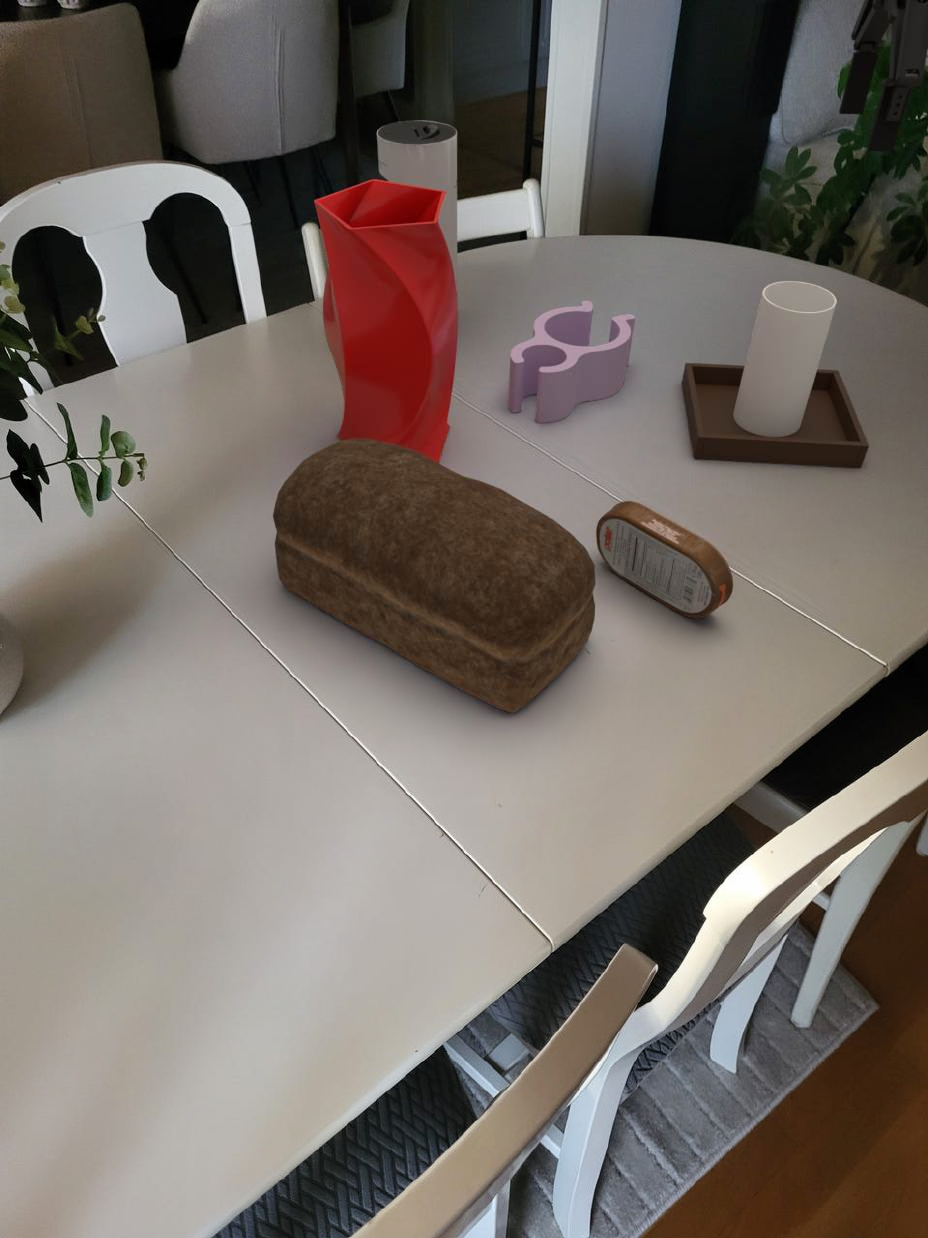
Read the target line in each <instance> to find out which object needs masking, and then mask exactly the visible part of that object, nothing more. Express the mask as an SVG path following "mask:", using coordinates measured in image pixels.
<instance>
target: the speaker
mask: <svg viewBox="0 0 928 1238" xmlns="http://www.w3.org/2000/svg"><path fill="white" fill-rule="evenodd" d="M376 141H377V144H376V145H377V160H378V162H377V163H378V180H383V181H389V182H394V183H400V184H406V185H412V186H418V187H423V188H429V189H436V190H442V191H446V194H445V197H444V200H443V203H442V206H441V209H440V214H439V222H440V227H441V230H442V233H443V235H444V238H445V240H446V243H447V246H448V249H449V253H450V256H451V261H452V265H453V270H454V276H455V283H456V292H457V307H459V304H458V303H459V299H458V296H459V295H458V294H459V293H458V292H459V291H458V290H459V289H458V131H457V129H456V128H455V127H454V126H452V125H450V124H447V123H443V122H437V121H434V120H424V119H423V120H422V119H421V120H402V121H396V122H391V123H388V124H385V125H383V126H381V127H380V128H379V129H377V131H376Z"/></svg>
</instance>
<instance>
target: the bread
mask: <svg viewBox="0 0 928 1238" xmlns="http://www.w3.org/2000/svg"><path fill="white" fill-rule="evenodd" d="M272 519H273V523H274V527H275V530H276V534H275V539H274V549H275V560H276V568H277V573H278V574H277V575H278V580H279V581H280V582H281V584H282V585H283V587H284V588H286V589H288V590H289V591H290V592H291V591H292V592H293V593H295V594H297V595H298V596H300V597H301V598H303V599H305V600H306V601H308V602H309V603H311V604H312V605H314V606H316V607H318V609H320V610H322V611H323V612H325V613H327V614H329V615H330V616H332V617H334V618H335V619H337V620H339V621H340V622H342V623H343V624H346V625H347V626H350V627H352V628H353V629H355V630H357V631H358V632H360V633H362V634H364V635H366V636H367V637H370V638H371V639H372V640H375V641H377V642H379V643H380V644H381V645H384V646H386V647H388V648H389V649H391V650H393V651H394V652H396V653H397V654H399V655H401V657H404V658H405V659H406V660H408V661H410V662H411V663H413V664H415V665H416V666H417V667H419V668H421V669H423V670H425V671H427V672H429V673H431V674H433V675H434V676H436V677H438V678H440V679H442V680H443V681H445V682H447V683H449V684H450V685H452V686H453V687H456V688H458V689H459V690H460V691H463V692H465V693H467V694H469V695H471V696H472V697H474V698H476V699H479V700H480V701H482V702H485V703H486V704H488V705H491V706H493V707H495V708H497V709H499V710H502V711H506V712H508V713H511V714H514V713H515V712H517V711H518V710H520V709H521V708H523V707H524V706H526V704H528V703H529V702H530V701H531V700H533V699H534V698H535V697H536V696H538V694H539V693H541V692H542V690H544V689H545V688H546V687H547V686H548V685H549V684H550V683H551V682H552V681H553V680H554V679H555V678H556V677H557V676H558V675H559V674H560V673H561V672H562V671H563V670H564V669H565V668H566V667H567V666H568V665H569V664H570V663H571V662H572V661H573V659H575V657H576V656H577V655H578V654H579V652H580V651H581V650H582V648H583V647H584V646H585V644H587V642H588V641H589V638H590V636H591V634H592V631H593V628H594V624H595V623H594V622H595V617H596V615H595V614H596V603H595V598H594V597H595V596H594V589H595V588H596V587H595V586H596V565H595V563H594V561H593V559H592V558H591V556H590V554H589V552H588V550H587V549H586V547H585V545H584V544H582V543H581V542H580V541H579V540H578V539H577V538H576V537H575V536H574V535H573V534H572V533H571V532H570V531H569V530H567V529H566V528H565V527H564V526H562V525H561V524H560V523H558V522H557V521H556V520H555V519H553V518H551V517H550V516H548V515H546V514H544V512H542V511H539V510H538V509H536V508H535V507H533V506H531V505H529V504H527V503H525V502H523V501H522V500H520V499H518V498H516V497H515V496H513V495H512V494H510V493H509V492H507V491H505V490H503V489H502V488H500V487H497V486H494V485H492V484H489V483H487V482H484V481H482V480H478V479H475V478H472V477H468V476H464V475H462V474H460V473H458V472H456V471H454V470H451V469H450V468H448V467H446V466H445V465H443V464H441V463H440V462H439V463H437V462H435V461H434V460H432V459H430V458H428V457H426V456H425V455H423V454H421V453H419V452H417V451H415V450H412V449H409V448H406V447H403V446H400V445H395V444H390V443H385V442H381V441H377V440H373V439H369V438H351V439H347V440H343V441H340V440H339V441H336V442H334V443H331V444H330V445H327V446H326V447H324V448H322V449H320V450H318V451H316V452H314V453H312V454H310V455H309V456H308V457H306V458H304V460H302V461H301V462H300V464H299V465H298V466H296V468H295V469H294V470H293V471H292V473H290V475H289V476H288V477H287V479H286V480H285V481H284V483H283V484H282V486H281V487H280V489H279V490H278V492H277V497H276V500H275V504H274V508H273V512H272Z"/></svg>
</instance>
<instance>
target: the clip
mask: <svg viewBox="0 0 928 1238" xmlns="http://www.w3.org/2000/svg"><path fill="white" fill-rule="evenodd" d="M593 313H594V305H593V302H592V301H590V300H582V301H581V303H580V305H578V306H564V307H558V308H554V309H551V310H547V311H545V312H544V313H542V314H540V315H539V316H538V317H537V318H536V319H535V320H534V322H533V330H532V337H531V339H528V340H526V341H523V342H520V343H518V344H517V345H515V346H513V348H511V351H510V355H509V356H510V357H509V376H508V377H509V378H508V379H509V380H508V396H507V397H508V399H507V407H508V409H509V411H510V412H511V413H513V414H516V413H520V412H521V411H522V405H523V403H522V401H523V399H524V398H525V397H528V396H531V395H536V406H535V419H534V420H535V422H536V423H541V424H542V423H544V424H545V423H554V422H558V421H561V420H563V419H565V418H567V417H568V416H570V414H571V413H572V412H573V410H574V408H575V407H576V406H577V405H579V404H581V403H584V402H592V401H599V400H603V399H607V398H609V397H611V396H613V395H615V394H617V393H618V392H619V391H620V390H621V389H622V388H623V386H624V383H625V376H626V371H627V368H628V367H629V364H630V357H631V349H632V343H633V335H634V331H635V330H634V328H635V322H636V316H635V315H634V314H631V313H627V314H619V315H615V316H612V317H611V321H610V328H609V336H608V342H607V343H604V344H600V345H590V338H591V329H592V322H593Z"/></svg>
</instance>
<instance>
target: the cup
mask: <svg viewBox="0 0 928 1238" xmlns="http://www.w3.org/2000/svg"><path fill="white" fill-rule="evenodd" d="M837 301H838V300H837V298H836V296H835V294H833V293H832V292H831V291H830V290H828V289H826V288H825V287H823V286H820V285H817V284H814V283H809V282H805V281H799V280H798V281H797V280H781V281H776V282H773V283H770V284H768V285H766V286H765V287H764V288H763V289H762V292H761V295H760V300H759V304H758V307H757V311H756V312H757V313H756V317H755V319H754V325H753V330H752V334H751V338H750V341H749V346H748V350H747V355H746V358H745V363H744V366H745V367H744V371H743V375H742V379H741V383H740V388H739V392H738V396H737V400H736V404H735V409H734V413H733V417H734V420H735V422H736V423H737V424H738V425H739V426H740V427H741V428H743V429H745V430H746V431H748V432H751V433H753V434H756V435H760V436H766V437H784V436H788V435H791V434H793V433H795V432H796V431H798V429H799V428H800V425H801V422H802V419H803V415H804V412H805V409H806V405H807V402H808V398H809V395H810V392H811V388H812V385H813V382H814V378H815V375H816V372H817V369H818V368H819V364H820V362H821V358H822V355H823V351H824V348H825V345H826V341H827V339H828V334H829V331H830V328H831V324H832V321H833V317H834V314H835V311H836V307H837V303H838V302H837Z"/></svg>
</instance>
